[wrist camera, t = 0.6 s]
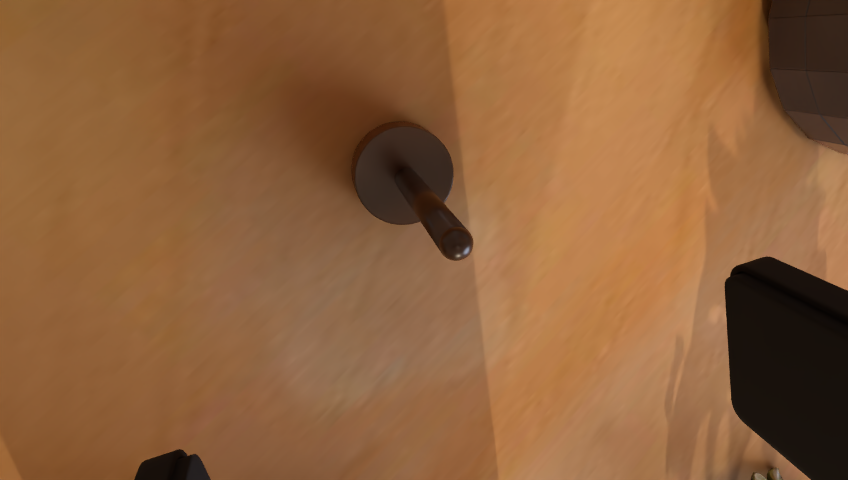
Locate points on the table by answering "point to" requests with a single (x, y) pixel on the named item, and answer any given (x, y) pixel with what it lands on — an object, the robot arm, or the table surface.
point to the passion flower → (768, 475)
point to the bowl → (812, 66)
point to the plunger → (410, 183)
